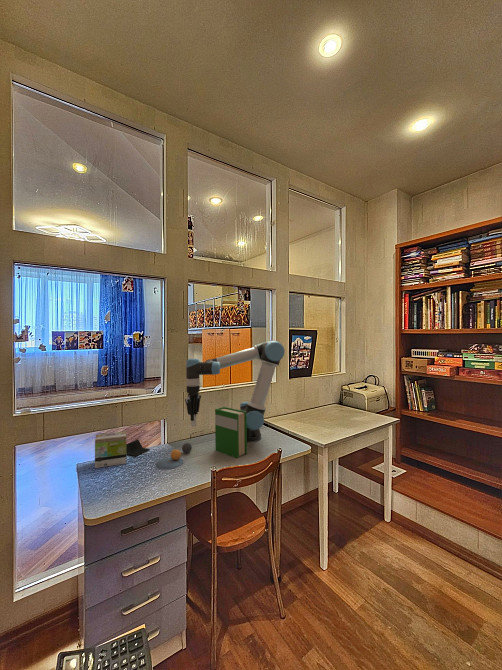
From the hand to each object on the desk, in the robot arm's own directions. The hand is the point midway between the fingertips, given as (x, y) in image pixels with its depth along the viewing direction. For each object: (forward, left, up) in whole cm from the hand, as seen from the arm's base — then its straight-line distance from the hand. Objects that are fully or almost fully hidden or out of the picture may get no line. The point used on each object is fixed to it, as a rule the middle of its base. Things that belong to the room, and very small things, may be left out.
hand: (193, 425), depth 179 cm
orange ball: (0, +16, -11) cm, 20 cm away
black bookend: (+27, +17, -14) cm, 35 cm away
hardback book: (-22, -5, -14) cm, 27 cm away
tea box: (+29, +33, -14) cm, 46 cm away
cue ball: (+1, +6, -11) cm, 13 cm away
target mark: (0, +21, -14) cm, 25 cm away
